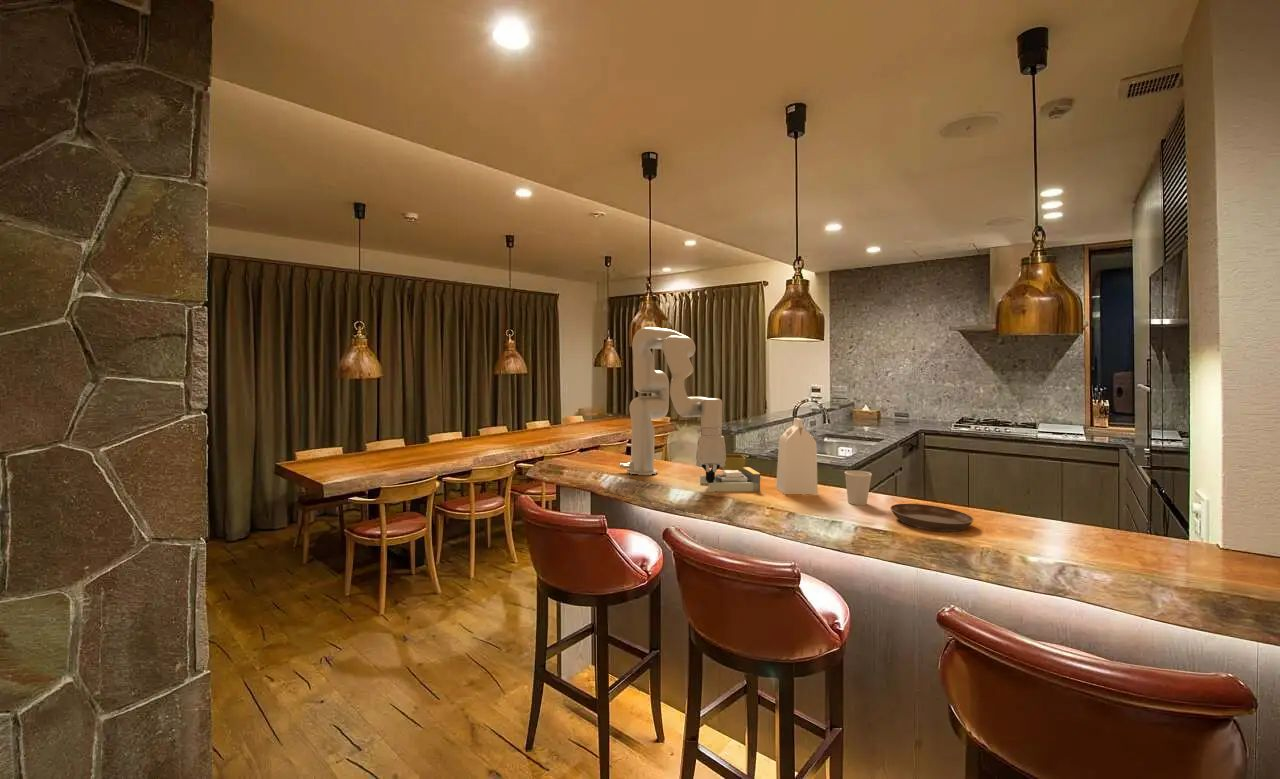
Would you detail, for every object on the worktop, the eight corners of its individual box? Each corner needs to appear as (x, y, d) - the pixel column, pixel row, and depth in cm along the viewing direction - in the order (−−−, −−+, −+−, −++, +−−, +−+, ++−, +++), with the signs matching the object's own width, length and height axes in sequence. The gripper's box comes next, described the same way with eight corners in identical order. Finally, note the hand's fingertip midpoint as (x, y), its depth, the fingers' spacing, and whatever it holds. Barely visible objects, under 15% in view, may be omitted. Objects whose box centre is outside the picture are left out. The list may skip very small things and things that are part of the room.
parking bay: (708, 492, 184) (709, 474, 184) (699, 483, 199) (700, 466, 199) (760, 492, 186) (761, 474, 185) (747, 483, 201) (748, 466, 201)
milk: (817, 495, 182) (819, 420, 182) (784, 494, 183) (786, 419, 182) (807, 488, 194) (809, 417, 194) (776, 487, 195) (777, 417, 194)
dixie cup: (854, 506, 167) (855, 475, 166) (838, 500, 175) (839, 470, 175) (877, 505, 169) (878, 474, 169) (859, 499, 177) (860, 470, 177)
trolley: (719, 489, 188) (719, 473, 188) (715, 485, 195) (715, 469, 195) (747, 489, 189) (747, 473, 189) (742, 485, 196) (742, 469, 196)
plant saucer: (979, 523, 151) (980, 512, 151) (964, 539, 135) (965, 526, 135) (901, 510, 164) (902, 499, 164) (880, 523, 149) (880, 511, 149)
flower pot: (745, 480, 205) (746, 458, 205) (722, 480, 206) (723, 457, 205) (741, 476, 214) (742, 454, 214) (719, 476, 214) (720, 454, 214)
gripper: (693, 433, 187) (691, 484, 187) (734, 433, 188) (733, 484, 189) (688, 430, 194) (687, 480, 195) (728, 431, 196) (727, 480, 196)
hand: (710, 482), depth 192 cm, fingers closed
